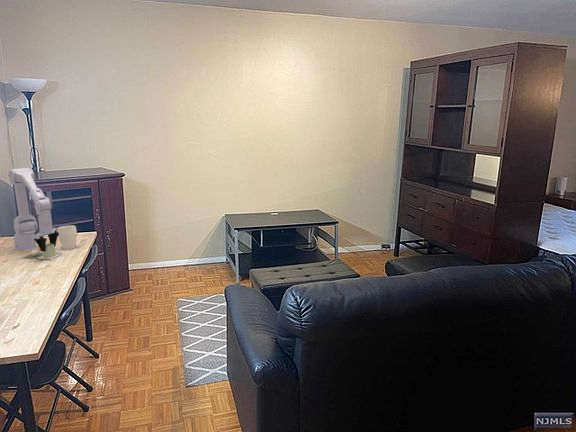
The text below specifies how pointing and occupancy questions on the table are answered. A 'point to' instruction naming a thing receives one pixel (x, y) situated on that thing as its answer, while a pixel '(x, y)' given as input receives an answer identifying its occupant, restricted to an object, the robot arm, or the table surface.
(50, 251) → the sage cup
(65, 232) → the cup
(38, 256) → the mat
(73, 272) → the table surface
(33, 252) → the marble
